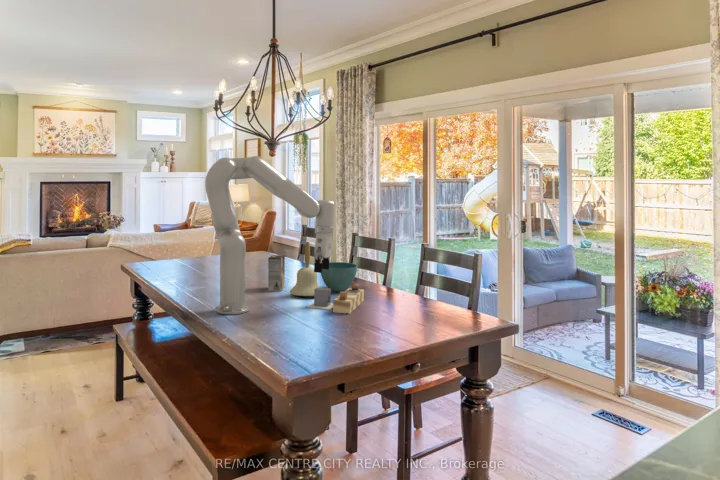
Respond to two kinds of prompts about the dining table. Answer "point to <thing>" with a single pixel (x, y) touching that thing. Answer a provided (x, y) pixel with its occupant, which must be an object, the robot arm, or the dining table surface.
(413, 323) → the dining table surface
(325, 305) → the tall grey box
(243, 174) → the robot arm
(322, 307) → the mat
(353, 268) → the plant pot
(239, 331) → the dining table surface
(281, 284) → the coffee box
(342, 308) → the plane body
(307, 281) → the handbell
